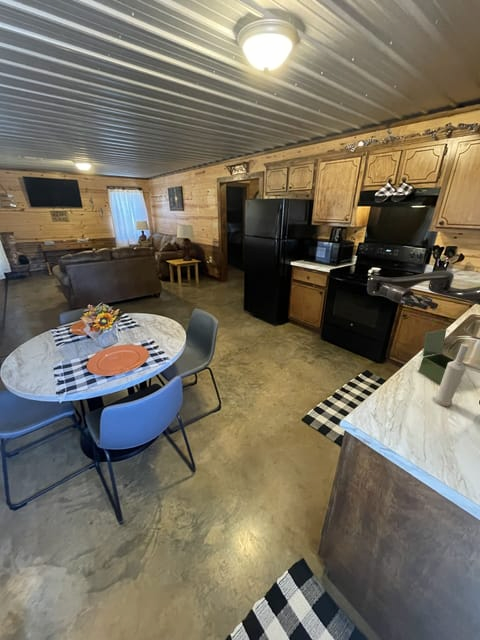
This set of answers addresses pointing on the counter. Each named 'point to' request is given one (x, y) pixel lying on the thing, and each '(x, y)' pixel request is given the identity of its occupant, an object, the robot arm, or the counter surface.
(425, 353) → the lid
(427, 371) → the green hinged box
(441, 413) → the counter surface
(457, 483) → the counter surface
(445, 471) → the counter surface
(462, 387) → the counter surface
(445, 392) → the bottle
